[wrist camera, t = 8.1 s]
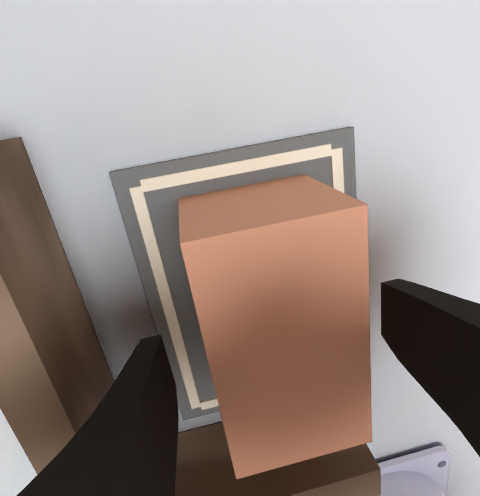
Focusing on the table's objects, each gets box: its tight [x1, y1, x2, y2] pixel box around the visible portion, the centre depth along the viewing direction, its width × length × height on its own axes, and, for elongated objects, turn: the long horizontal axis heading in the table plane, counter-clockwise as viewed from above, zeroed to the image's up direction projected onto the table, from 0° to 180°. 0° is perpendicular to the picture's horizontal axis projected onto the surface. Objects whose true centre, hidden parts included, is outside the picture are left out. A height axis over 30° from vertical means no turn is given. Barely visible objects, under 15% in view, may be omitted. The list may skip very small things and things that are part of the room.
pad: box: [109, 127, 356, 420], centre depth 14 cm, size 11×8×1 cm
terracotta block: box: [178, 174, 372, 479], centre depth 12 cm, size 4×8×4 cm, turn 9°
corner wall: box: [0, 137, 381, 496], centre depth 12 cm, size 15×11×4 cm
